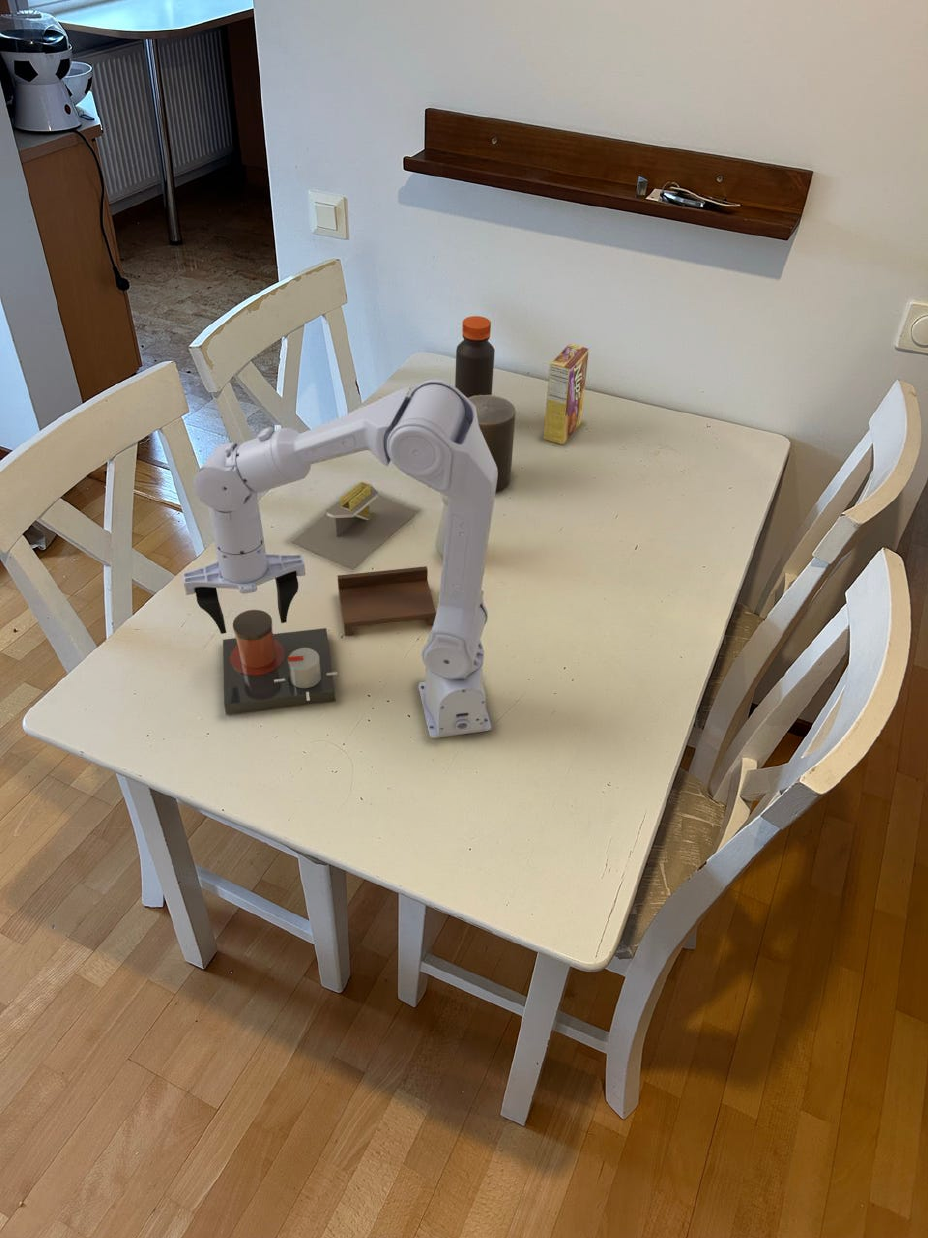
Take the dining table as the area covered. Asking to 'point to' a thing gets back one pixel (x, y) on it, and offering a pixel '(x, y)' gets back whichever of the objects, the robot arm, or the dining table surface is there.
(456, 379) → the bottle
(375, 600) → the spice shelf
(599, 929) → the dining table surface
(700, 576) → the dining table surface
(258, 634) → the jar
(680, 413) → the dining table surface
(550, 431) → the candy box
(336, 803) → the dining table surface
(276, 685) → the hob
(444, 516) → the salt shaker
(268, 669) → the disc
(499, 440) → the pillar candle
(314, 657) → the hob knob
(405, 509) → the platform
